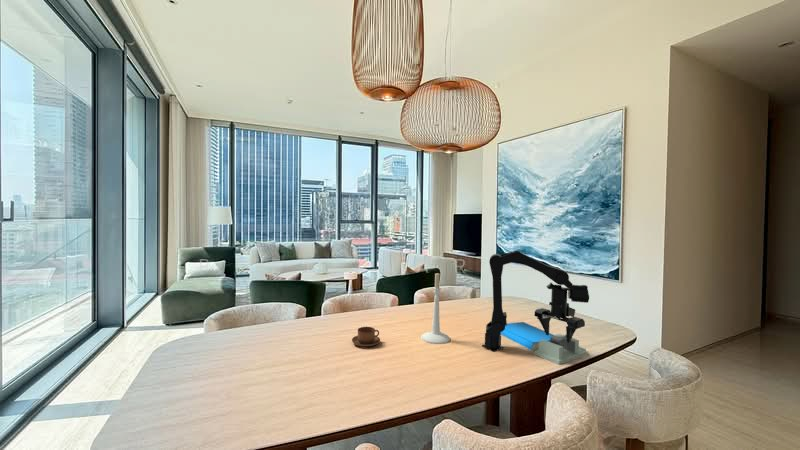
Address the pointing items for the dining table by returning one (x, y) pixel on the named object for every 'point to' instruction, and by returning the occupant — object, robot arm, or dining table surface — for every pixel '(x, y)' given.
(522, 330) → the book
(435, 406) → the dining table surface
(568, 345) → the jaw
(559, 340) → the block
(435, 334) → the candlestick
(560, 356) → the vise
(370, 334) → the cup and saucer
